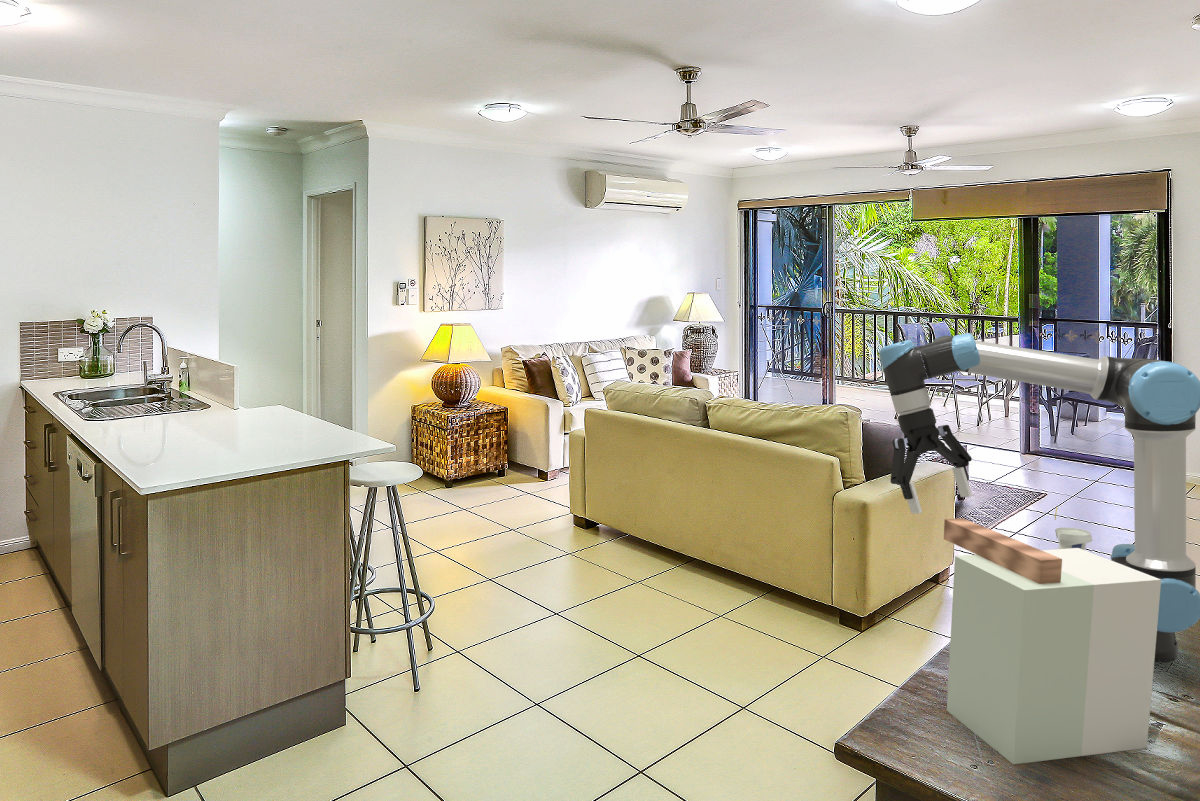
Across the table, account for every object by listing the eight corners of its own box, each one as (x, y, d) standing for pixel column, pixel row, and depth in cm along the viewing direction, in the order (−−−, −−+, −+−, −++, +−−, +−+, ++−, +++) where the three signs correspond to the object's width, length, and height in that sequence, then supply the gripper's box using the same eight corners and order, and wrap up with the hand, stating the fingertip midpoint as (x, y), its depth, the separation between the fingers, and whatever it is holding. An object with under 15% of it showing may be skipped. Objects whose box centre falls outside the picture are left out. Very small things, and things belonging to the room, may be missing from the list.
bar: (943, 539, 157) (944, 519, 156) (961, 537, 157) (962, 518, 157) (1039, 583, 131) (1041, 560, 131) (1060, 582, 132) (1062, 559, 132)
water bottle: (1056, 610, 198) (1063, 512, 195) (1043, 598, 207) (1050, 504, 204) (1092, 612, 197) (1100, 514, 194) (1078, 600, 205) (1085, 505, 203)
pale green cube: (946, 710, 149) (954, 556, 146) (1067, 697, 154) (1078, 547, 151) (1013, 764, 132) (1024, 590, 128) (1146, 748, 137) (1161, 579, 133)
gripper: (947, 400, 182) (974, 490, 181) (857, 426, 175) (884, 520, 173) (970, 395, 175) (999, 489, 174) (878, 422, 168) (906, 520, 166)
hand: (941, 504), depth 173 cm, fingers open, 13 cm apart
